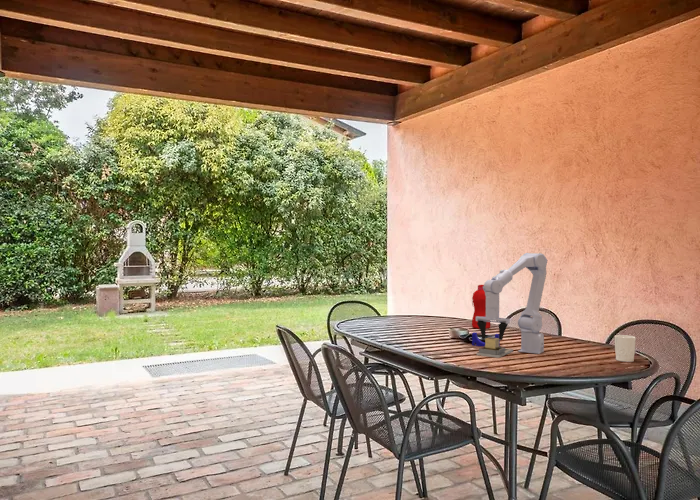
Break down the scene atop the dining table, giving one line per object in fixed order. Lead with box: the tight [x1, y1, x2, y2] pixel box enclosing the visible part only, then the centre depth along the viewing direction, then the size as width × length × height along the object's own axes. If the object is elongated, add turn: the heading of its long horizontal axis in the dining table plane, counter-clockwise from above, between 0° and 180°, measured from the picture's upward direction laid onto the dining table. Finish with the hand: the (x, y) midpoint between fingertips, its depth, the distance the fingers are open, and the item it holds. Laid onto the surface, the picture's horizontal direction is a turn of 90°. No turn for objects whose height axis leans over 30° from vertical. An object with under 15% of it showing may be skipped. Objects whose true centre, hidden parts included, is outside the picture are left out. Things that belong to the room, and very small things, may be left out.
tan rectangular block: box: [484, 337, 500, 350], centre depth 244 cm, size 4×4×6 cm
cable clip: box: [471, 331, 501, 347], centre depth 266 cm, size 12×4×6 cm, turn 66°
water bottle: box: [471, 284, 491, 330], centre depth 324 cm, size 9×11×25 cm
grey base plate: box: [476, 346, 514, 359], centre depth 247 cm, size 10×18×3 cm, turn 146°
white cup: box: [614, 334, 636, 363], centre depth 235 cm, size 8×8×10 cm
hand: (492, 339), depth 244 cm, fingers open, 7 cm apart
